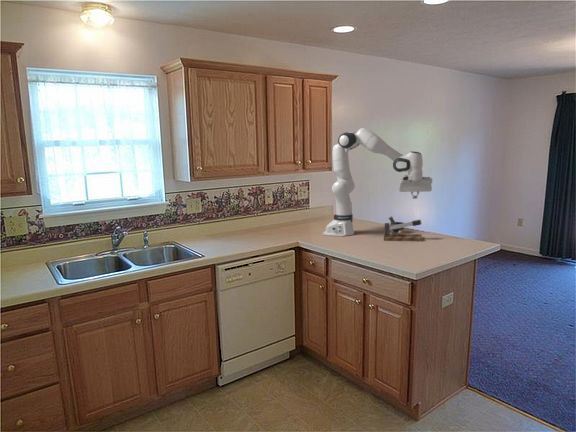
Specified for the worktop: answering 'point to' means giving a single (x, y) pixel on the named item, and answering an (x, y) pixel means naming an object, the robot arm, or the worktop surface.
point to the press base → (400, 238)
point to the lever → (405, 224)
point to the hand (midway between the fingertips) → (414, 198)
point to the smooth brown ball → (401, 232)
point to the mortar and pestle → (395, 224)
